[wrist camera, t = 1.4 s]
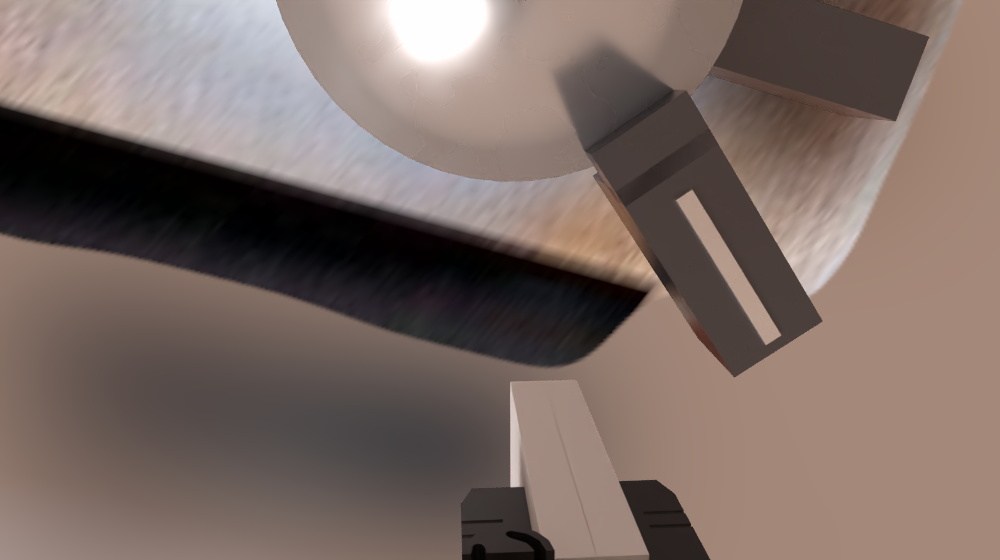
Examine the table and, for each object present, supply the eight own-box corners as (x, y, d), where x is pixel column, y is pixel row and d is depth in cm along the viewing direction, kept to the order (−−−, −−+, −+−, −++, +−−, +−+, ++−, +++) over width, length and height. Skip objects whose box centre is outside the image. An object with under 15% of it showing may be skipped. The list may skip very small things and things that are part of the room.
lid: (573, -425, 23) (602, -544, 19) (906, 204, 29) (988, 227, 24) (184, -122, 25) (124, -165, 20) (574, 418, 30) (594, 476, 26)
